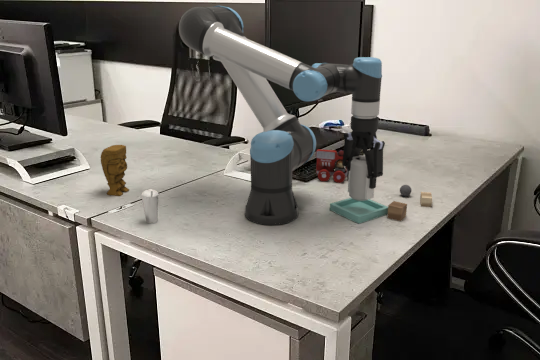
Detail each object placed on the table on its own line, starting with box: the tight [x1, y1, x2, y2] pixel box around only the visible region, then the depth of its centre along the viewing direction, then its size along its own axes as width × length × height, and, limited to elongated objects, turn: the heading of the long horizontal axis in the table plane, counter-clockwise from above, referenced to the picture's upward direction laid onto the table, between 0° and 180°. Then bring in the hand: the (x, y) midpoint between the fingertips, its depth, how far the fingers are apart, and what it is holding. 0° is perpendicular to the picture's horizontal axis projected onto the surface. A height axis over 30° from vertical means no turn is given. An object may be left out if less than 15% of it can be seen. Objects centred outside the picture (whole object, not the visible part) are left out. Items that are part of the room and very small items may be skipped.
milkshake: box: [141, 188, 159, 224], centre depth 143 cm, size 5×5×10 cm
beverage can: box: [348, 154, 369, 201], centre depth 148 cm, size 6×6×12 cm
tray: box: [329, 197, 388, 225], centre depth 152 cm, size 12×12×2 cm
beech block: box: [419, 191, 433, 208], centre depth 157 cm, size 5×3×3 cm, turn 167°
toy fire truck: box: [315, 148, 348, 184], centre depth 177 cm, size 7×12×10 cm, turn 76°
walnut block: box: [386, 200, 408, 222], centre depth 148 cm, size 4×4×4 cm
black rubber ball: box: [399, 184, 412, 197], centre depth 163 cm, size 4×4×4 cm
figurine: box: [100, 144, 130, 197], centre depth 164 cm, size 7×7×15 cm
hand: (360, 194), depth 150 cm, fingers closed on beverage can, 6 cm apart
